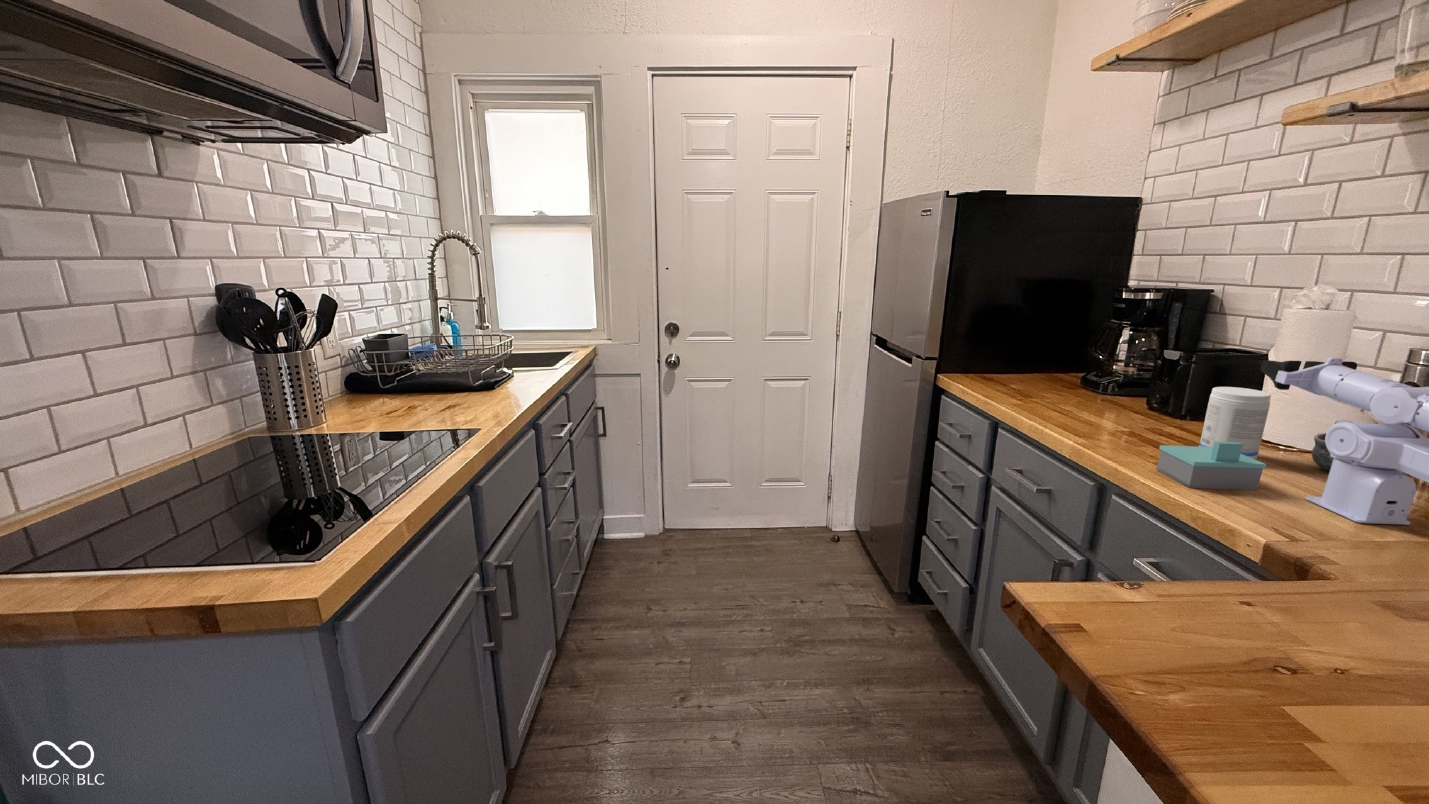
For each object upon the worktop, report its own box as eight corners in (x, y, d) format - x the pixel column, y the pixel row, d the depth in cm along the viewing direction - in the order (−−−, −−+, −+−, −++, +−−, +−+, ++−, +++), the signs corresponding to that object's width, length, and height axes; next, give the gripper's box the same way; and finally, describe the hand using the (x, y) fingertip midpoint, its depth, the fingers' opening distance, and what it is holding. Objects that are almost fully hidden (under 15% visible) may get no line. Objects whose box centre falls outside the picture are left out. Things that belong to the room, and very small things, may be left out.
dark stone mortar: (1318, 476, 111) (1331, 427, 108) (1291, 458, 121) (1302, 413, 119) (1387, 484, 106) (1403, 434, 104) (1353, 465, 117) (1366, 419, 115)
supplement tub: (1261, 458, 121) (1279, 392, 117) (1247, 467, 115) (1266, 398, 112) (1205, 446, 128) (1220, 384, 125) (1190, 453, 123) (1205, 389, 120)
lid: (1263, 473, 103) (1271, 446, 101) (1192, 470, 104) (1198, 444, 103) (1223, 455, 112) (1230, 430, 111) (1158, 453, 113) (1163, 428, 112)
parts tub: (1257, 490, 104) (1263, 467, 103) (1188, 487, 105) (1194, 465, 104) (1219, 472, 113) (1224, 451, 111) (1156, 470, 114) (1161, 449, 112)
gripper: (1409, 365, 94) (1332, 346, 107) (1315, 364, 95) (1251, 345, 108) (1392, 405, 96) (1319, 381, 109) (1301, 402, 98) (1239, 379, 110)
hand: (1284, 365), depth 109 cm, fingers open, 7 cm apart
